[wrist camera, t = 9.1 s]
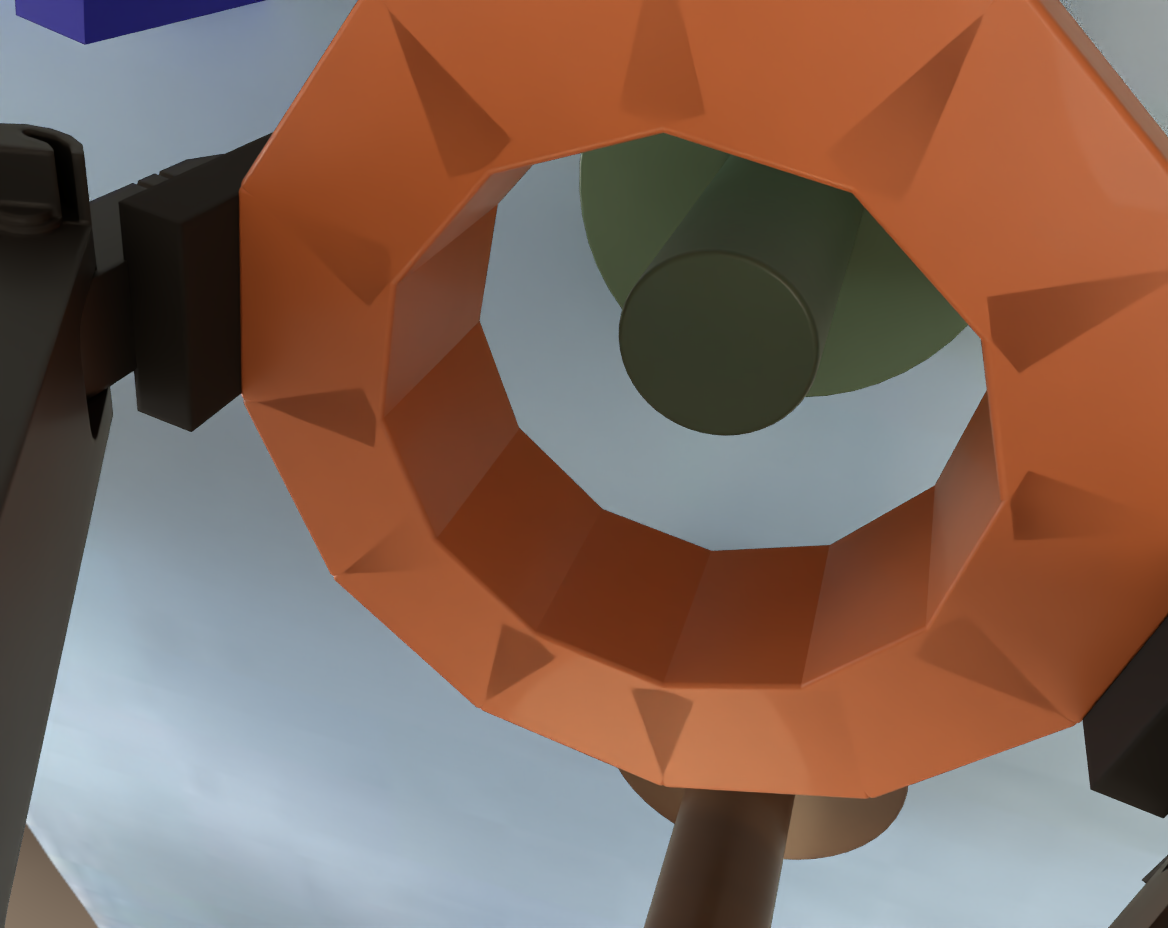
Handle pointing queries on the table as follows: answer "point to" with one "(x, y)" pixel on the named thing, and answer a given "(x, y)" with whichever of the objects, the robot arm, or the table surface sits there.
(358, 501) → the ring
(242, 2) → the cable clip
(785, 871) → the table surface
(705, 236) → the sage peg
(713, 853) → the walnut peg
